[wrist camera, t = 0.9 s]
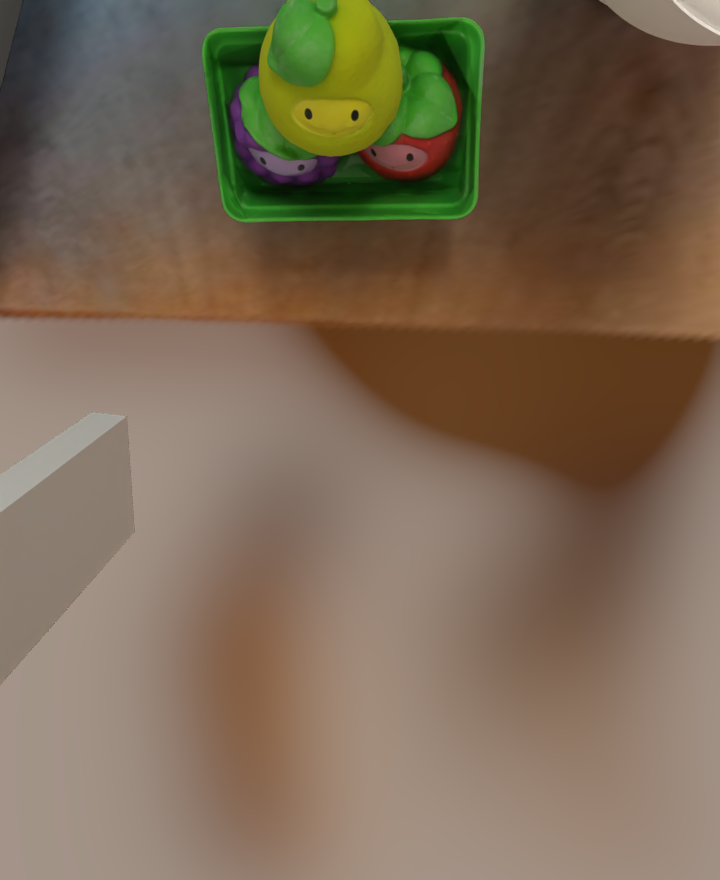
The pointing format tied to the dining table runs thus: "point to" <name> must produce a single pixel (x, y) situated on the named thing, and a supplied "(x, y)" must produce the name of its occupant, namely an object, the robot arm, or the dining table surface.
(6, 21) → the tray
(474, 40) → the fruit basket
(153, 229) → the dining table surface
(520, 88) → the dining table surface
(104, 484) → the robot arm
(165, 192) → the dining table surface
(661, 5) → the jar
